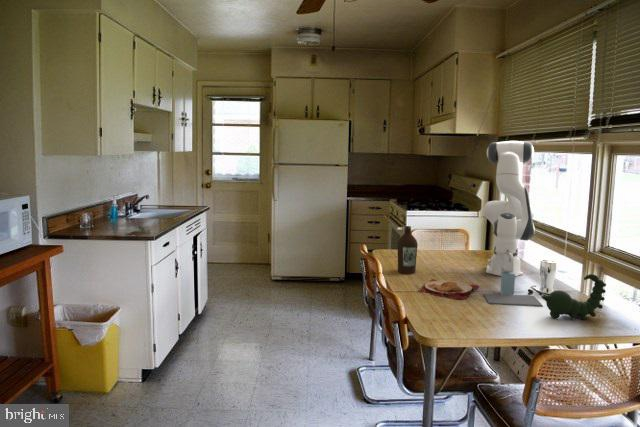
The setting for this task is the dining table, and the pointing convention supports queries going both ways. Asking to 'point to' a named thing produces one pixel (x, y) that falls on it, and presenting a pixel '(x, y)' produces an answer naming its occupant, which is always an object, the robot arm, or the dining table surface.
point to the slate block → (507, 283)
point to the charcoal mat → (512, 299)
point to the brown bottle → (407, 252)
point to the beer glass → (547, 275)
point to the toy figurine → (566, 305)
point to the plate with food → (449, 288)
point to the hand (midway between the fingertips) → (504, 276)
